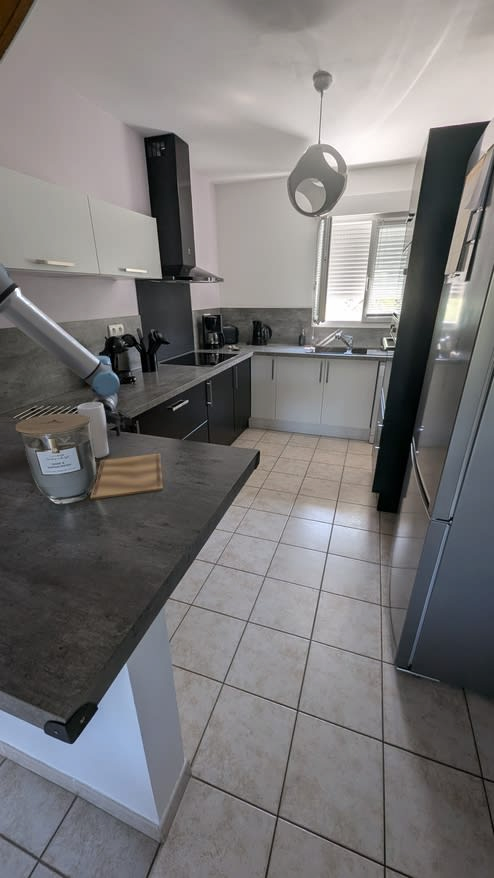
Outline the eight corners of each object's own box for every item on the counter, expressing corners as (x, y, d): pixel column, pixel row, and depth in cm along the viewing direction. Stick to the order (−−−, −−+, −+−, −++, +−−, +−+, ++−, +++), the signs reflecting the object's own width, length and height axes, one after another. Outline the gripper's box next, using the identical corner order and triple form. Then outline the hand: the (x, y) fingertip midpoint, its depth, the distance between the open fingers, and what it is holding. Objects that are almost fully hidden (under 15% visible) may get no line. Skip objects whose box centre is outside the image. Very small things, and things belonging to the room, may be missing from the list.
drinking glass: (101, 461, 99) (91, 410, 93) (81, 458, 100) (70, 407, 95) (116, 451, 104) (108, 402, 99) (97, 449, 106) (88, 400, 101)
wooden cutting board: (101, 462, 98) (100, 459, 98) (160, 455, 102) (160, 453, 102) (90, 500, 80) (89, 497, 80) (162, 490, 84) (162, 487, 84)
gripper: (142, 417, 120) (141, 441, 100) (64, 424, 114) (47, 451, 95) (139, 396, 117) (137, 416, 98) (59, 402, 111) (40, 425, 92)
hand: (92, 433), depth 96 cm, fingers open, 12 cm apart
